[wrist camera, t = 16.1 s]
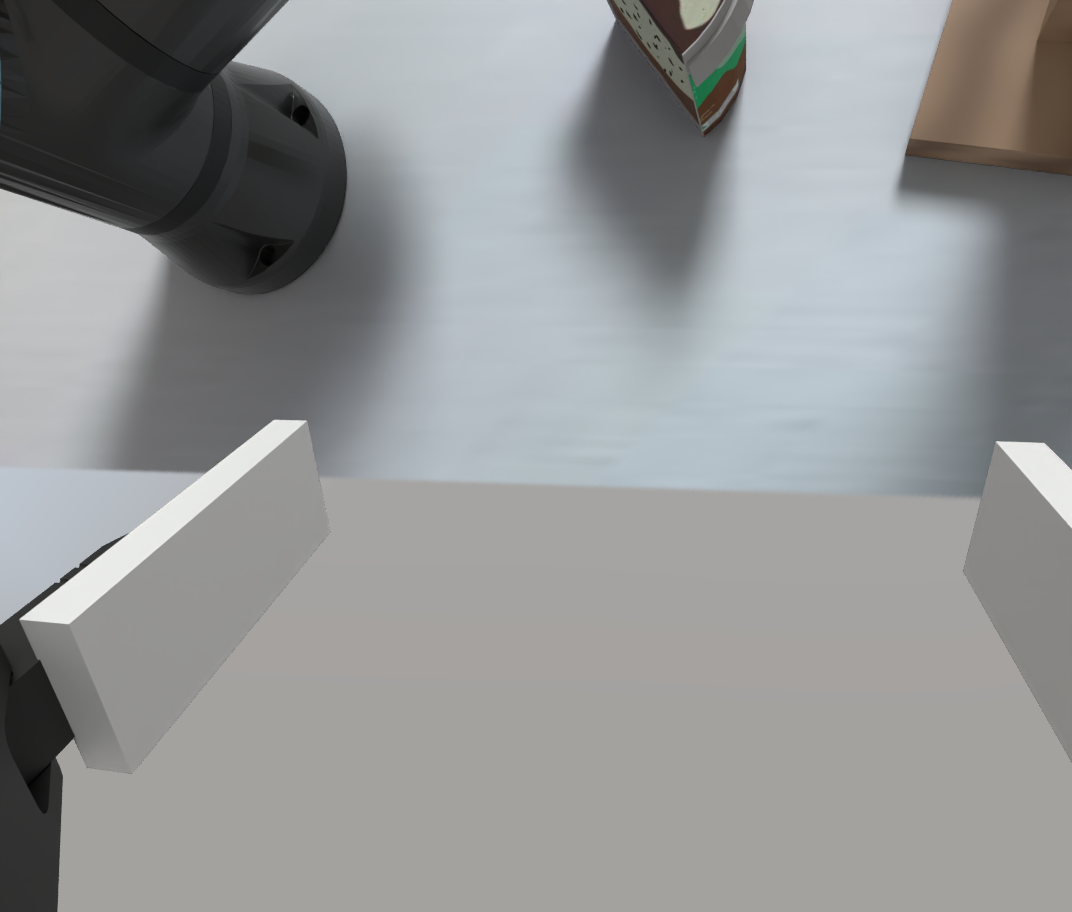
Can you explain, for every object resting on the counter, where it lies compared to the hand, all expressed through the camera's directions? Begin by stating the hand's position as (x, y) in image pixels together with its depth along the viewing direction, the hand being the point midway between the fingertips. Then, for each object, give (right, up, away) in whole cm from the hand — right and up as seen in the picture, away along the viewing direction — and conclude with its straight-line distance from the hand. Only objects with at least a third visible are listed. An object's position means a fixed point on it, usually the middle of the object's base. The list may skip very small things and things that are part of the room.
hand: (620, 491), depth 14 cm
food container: (+8, +24, +27) cm, 37 cm away
